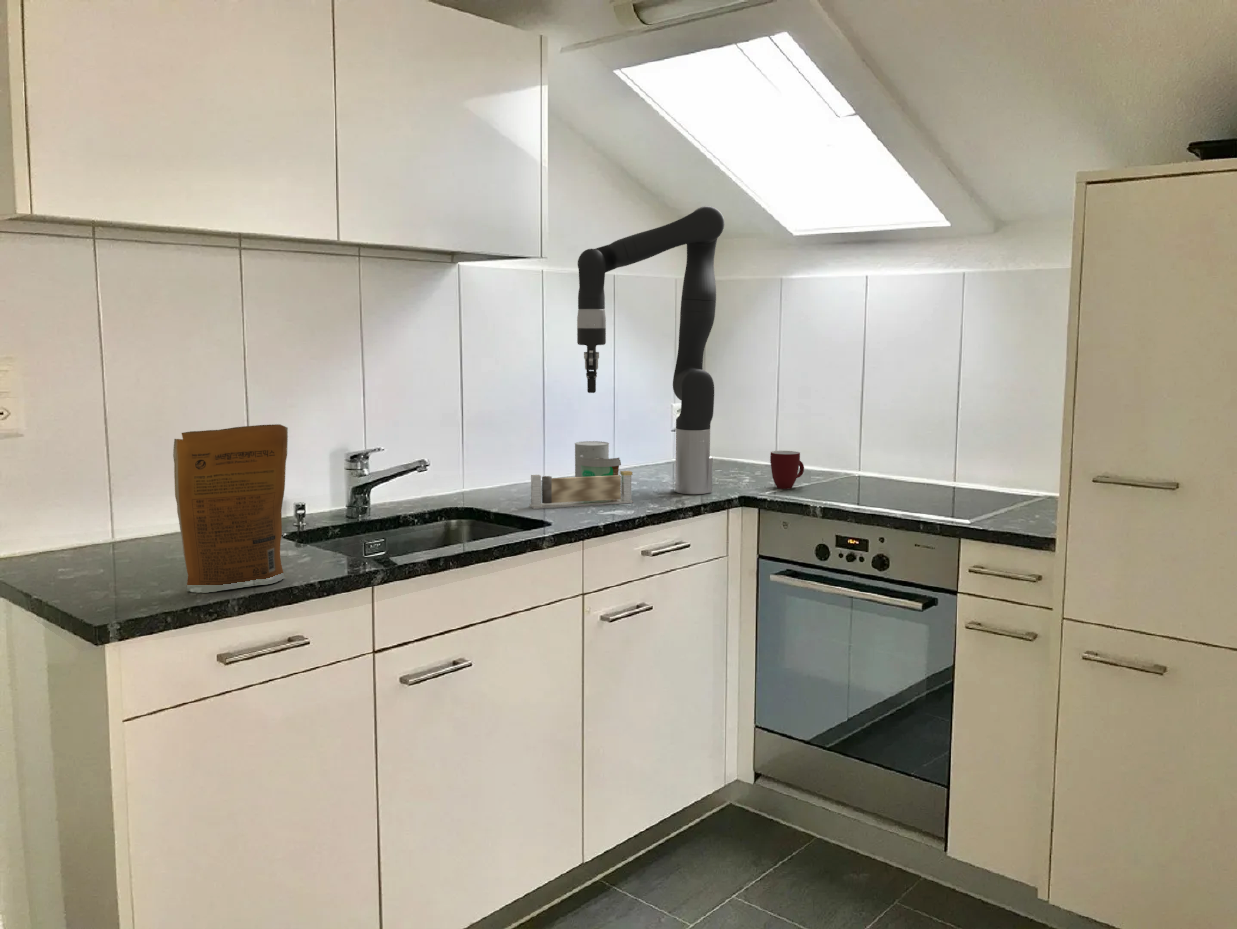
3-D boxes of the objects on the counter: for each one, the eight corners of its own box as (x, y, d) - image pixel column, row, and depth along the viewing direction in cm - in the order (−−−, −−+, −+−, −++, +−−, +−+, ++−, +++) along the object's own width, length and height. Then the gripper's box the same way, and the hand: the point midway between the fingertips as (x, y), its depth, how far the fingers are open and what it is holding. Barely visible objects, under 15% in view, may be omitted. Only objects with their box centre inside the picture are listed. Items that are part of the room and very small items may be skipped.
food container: (569, 494, 267) (569, 457, 265) (581, 491, 272) (580, 454, 270) (610, 498, 261) (610, 460, 259) (621, 494, 266) (621, 457, 265)
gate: (543, 503, 247) (543, 477, 246) (541, 502, 249) (541, 476, 248) (621, 499, 253) (621, 474, 252) (618, 498, 255) (618, 472, 254)
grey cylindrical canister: (577, 484, 284) (577, 441, 282) (610, 484, 283) (610, 441, 281) (572, 489, 274) (572, 445, 273) (607, 490, 273) (607, 445, 272)
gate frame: (533, 509, 245) (533, 476, 244) (529, 506, 249) (529, 474, 248) (633, 502, 254) (633, 471, 253) (627, 500, 258) (628, 469, 257)
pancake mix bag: (299, 583, 175) (292, 424, 171) (183, 600, 165) (172, 431, 161) (289, 575, 181) (282, 421, 177) (175, 590, 170) (165, 427, 166)
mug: (789, 484, 284) (790, 449, 283) (811, 487, 278) (812, 452, 277) (763, 487, 278) (764, 452, 276) (785, 491, 272) (785, 455, 270)
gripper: (605, 326, 256) (605, 394, 259) (606, 326, 269) (606, 390, 272) (576, 326, 256) (576, 394, 259) (578, 326, 269) (578, 390, 272)
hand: (591, 392), depth 265 cm, fingers closed
